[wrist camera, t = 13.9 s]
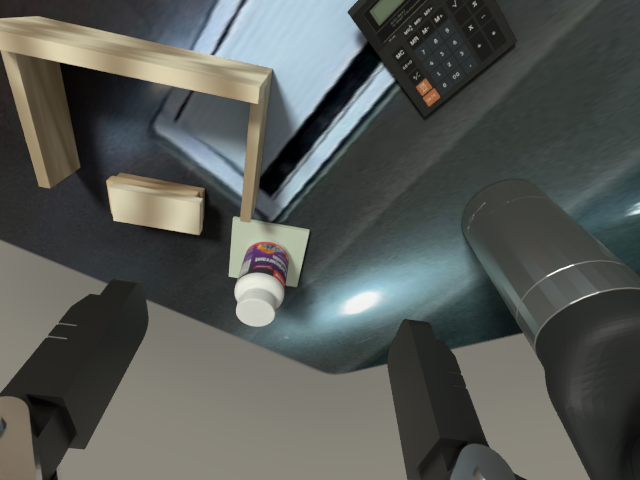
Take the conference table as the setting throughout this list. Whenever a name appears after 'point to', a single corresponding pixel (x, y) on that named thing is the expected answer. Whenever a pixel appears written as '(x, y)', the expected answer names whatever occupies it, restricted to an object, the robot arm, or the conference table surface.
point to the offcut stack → (156, 203)
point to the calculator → (433, 42)
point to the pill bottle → (261, 282)
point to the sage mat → (260, 230)
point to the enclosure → (123, 59)
